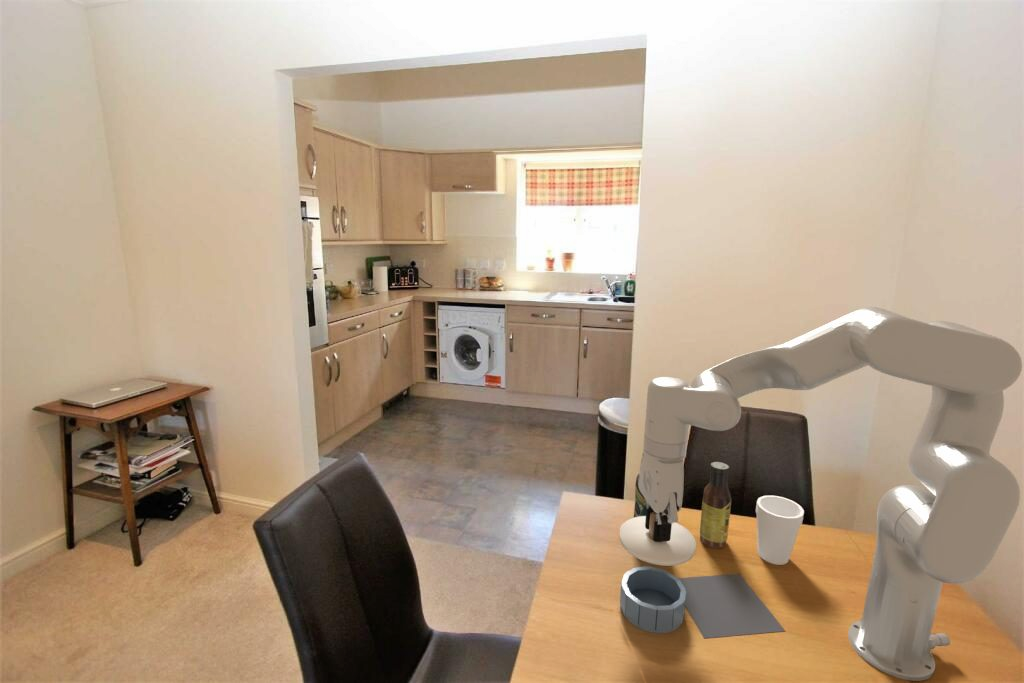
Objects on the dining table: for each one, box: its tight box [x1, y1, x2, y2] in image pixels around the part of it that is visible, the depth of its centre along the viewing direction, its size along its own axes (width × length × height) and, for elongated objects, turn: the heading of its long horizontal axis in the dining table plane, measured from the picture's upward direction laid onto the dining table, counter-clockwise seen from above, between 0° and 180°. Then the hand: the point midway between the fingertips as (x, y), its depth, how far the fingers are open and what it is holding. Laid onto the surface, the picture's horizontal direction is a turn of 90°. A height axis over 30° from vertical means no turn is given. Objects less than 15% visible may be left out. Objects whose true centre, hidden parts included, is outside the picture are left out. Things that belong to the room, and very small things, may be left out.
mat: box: [677, 573, 786, 639], centre depth 103 cm, size 16×16×1 cm
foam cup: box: [755, 495, 805, 566], centre depth 116 cm, size 10×9×13 cm
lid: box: [618, 511, 697, 567], centre depth 97 cm, size 14×14×6 cm
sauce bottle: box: [699, 461, 732, 549], centre depth 121 cm, size 6×6×20 cm
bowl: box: [619, 565, 686, 634], centre depth 101 cm, size 12×12×6 cm
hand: (657, 533), depth 97 cm, fingers closed on lid, 3 cm apart
